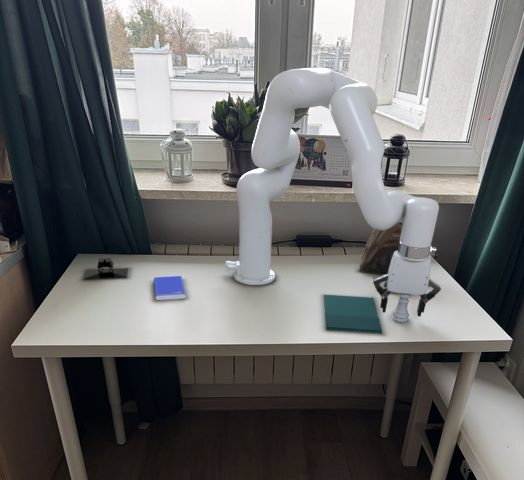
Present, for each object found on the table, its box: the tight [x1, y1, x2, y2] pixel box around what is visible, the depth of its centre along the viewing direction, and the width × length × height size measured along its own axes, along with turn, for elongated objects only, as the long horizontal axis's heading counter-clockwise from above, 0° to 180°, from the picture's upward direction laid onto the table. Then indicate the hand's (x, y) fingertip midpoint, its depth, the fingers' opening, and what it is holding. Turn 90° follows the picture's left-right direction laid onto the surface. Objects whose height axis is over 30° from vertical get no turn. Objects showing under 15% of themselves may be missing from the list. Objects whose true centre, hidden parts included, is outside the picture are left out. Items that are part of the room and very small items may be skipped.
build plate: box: [83, 257, 129, 280], centre depth 152 cm, size 12×7×5 cm, turn 100°
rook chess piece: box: [391, 293, 412, 323], centre depth 133 cm, size 4×4×8 cm
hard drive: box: [153, 275, 186, 301], centre depth 145 cm, size 2×8×12 cm
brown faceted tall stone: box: [358, 222, 403, 276], centre depth 159 cm, size 13×13×20 cm
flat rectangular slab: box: [323, 294, 383, 334], centre depth 137 cm, size 14×20×1 cm
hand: (401, 312), depth 134 cm, fingers open, 8 cm apart
